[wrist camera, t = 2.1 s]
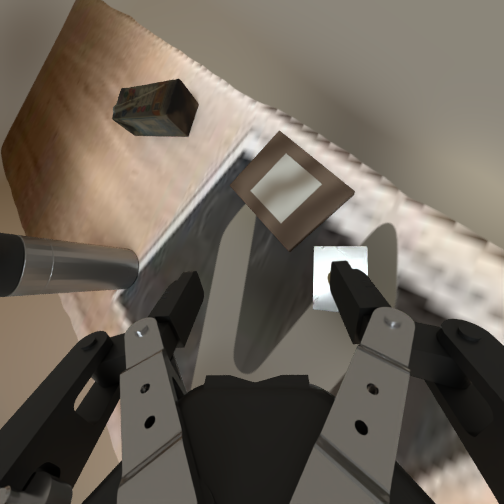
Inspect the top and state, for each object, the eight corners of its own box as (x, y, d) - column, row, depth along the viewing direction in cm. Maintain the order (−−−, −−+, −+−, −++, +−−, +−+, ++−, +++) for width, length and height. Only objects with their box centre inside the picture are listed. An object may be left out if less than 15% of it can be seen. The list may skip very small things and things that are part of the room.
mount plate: (354, 194, 27) (354, 191, 26) (290, 252, 30) (288, 250, 29) (281, 135, 33) (279, 130, 31) (232, 188, 35) (229, 185, 34)
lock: (320, 298, 27) (312, 310, 18) (321, 256, 28) (313, 245, 18) (356, 301, 26) (369, 317, 16) (356, 256, 26) (368, 245, 16)
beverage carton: (143, 107, 49) (117, 83, 43) (201, 103, 41) (178, 73, 35) (135, 136, 49) (107, 117, 43) (190, 138, 41) (166, 115, 35)
